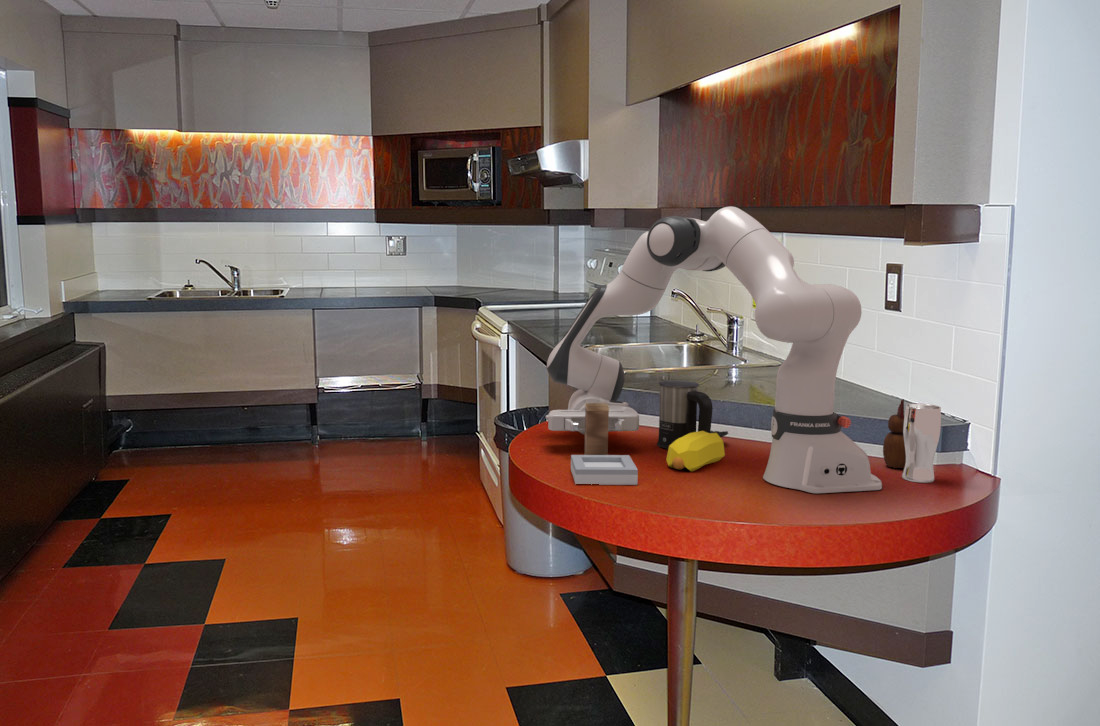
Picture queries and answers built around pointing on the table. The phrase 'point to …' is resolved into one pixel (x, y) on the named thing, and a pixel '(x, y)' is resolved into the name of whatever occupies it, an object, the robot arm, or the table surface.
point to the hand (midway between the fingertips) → (596, 427)
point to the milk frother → (682, 411)
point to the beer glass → (920, 441)
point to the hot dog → (695, 450)
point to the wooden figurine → (895, 440)
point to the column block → (596, 428)
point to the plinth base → (604, 469)
